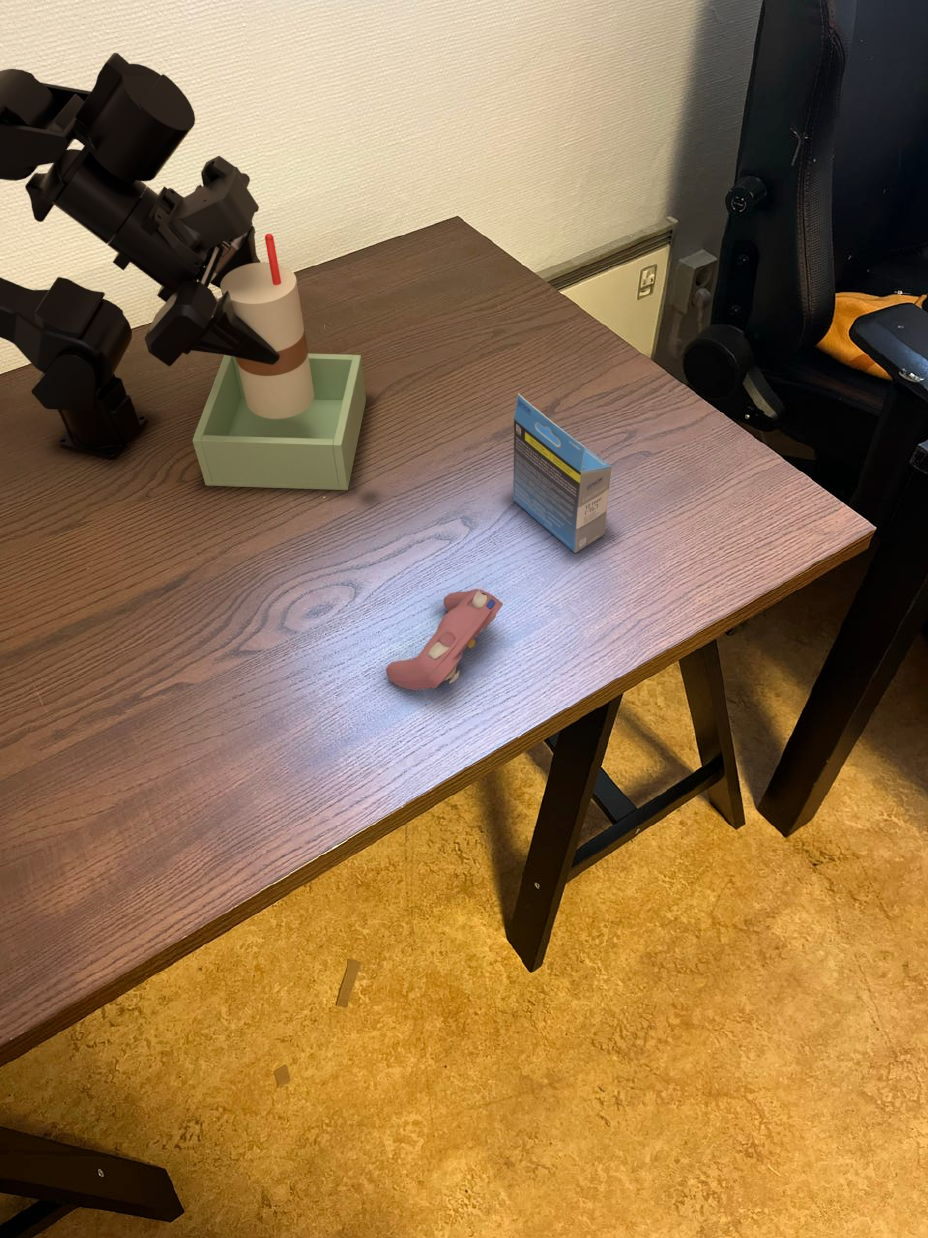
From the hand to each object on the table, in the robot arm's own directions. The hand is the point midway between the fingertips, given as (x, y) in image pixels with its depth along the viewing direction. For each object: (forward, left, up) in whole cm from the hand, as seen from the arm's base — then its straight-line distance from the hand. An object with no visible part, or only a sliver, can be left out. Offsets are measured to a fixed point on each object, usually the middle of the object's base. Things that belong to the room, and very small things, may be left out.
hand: (283, 338), depth 84 cm
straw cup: (-1, 0, -7) cm, 7 cm away
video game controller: (+23, -20, -12) cm, 33 cm away
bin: (-1, 0, -12) cm, 12 cm away
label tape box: (+27, -2, -12) cm, 29 cm away
